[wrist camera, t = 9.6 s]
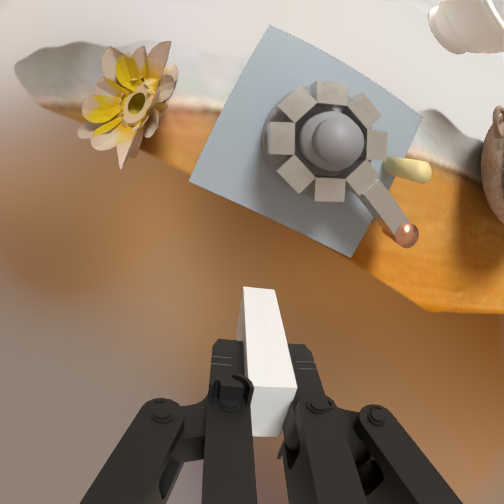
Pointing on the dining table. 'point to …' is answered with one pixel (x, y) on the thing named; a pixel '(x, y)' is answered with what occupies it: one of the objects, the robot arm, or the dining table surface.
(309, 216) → the base
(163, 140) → the dining table surface
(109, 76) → the decorative flower
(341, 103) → the grey gear lever
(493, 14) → the jar
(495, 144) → the cooking pot
